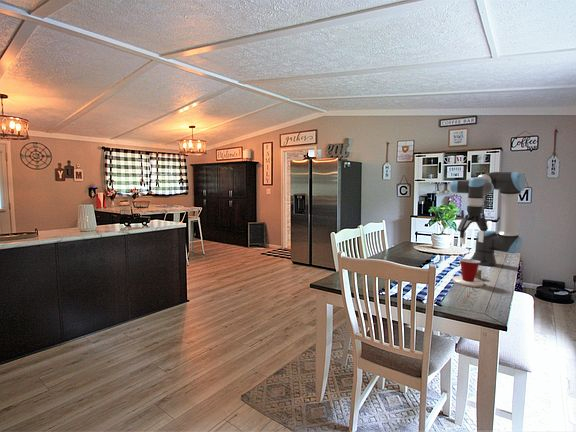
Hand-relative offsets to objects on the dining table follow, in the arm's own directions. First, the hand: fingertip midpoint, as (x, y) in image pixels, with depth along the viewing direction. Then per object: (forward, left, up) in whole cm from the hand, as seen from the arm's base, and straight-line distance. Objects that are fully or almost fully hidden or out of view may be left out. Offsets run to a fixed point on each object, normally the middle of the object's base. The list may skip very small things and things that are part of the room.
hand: (471, 242), depth 194 cm
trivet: (0, 0, -23) cm, 23 cm away
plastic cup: (0, 0, -22) cm, 22 cm away
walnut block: (-12, -6, -24) cm, 27 cm away
